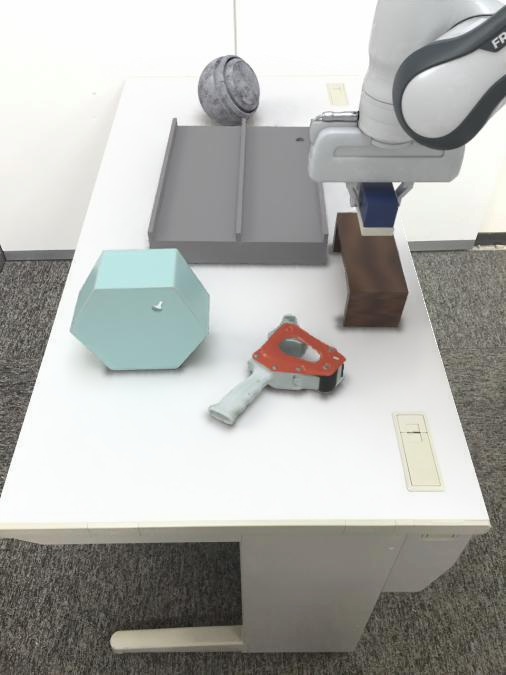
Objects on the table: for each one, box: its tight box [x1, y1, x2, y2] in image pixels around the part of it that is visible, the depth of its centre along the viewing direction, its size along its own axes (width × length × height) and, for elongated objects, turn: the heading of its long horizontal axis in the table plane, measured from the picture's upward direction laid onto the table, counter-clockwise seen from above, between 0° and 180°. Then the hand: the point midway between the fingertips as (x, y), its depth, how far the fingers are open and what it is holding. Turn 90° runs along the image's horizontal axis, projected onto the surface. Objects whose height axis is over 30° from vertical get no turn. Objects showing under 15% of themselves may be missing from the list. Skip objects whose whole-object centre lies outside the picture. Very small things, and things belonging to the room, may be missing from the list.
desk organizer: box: [147, 117, 330, 266], centre depth 107 cm, size 32×40×7 cm
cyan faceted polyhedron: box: [69, 248, 211, 371], centre depth 77 cm, size 17×8×21 cm
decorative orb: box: [197, 54, 261, 126], centre depth 125 cm, size 15×14×15 cm
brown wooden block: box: [331, 211, 410, 328], centre depth 91 cm, size 9×20×8 cm, turn 0°
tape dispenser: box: [207, 313, 347, 425], centre depth 79 cm, size 18×5×20 cm
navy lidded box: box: [355, 182, 400, 236], centre depth 76 cm, size 10×4×5 cm, turn 0°
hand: (374, 204), depth 77 cm, fingers closed on navy lidded box, 4 cm apart
